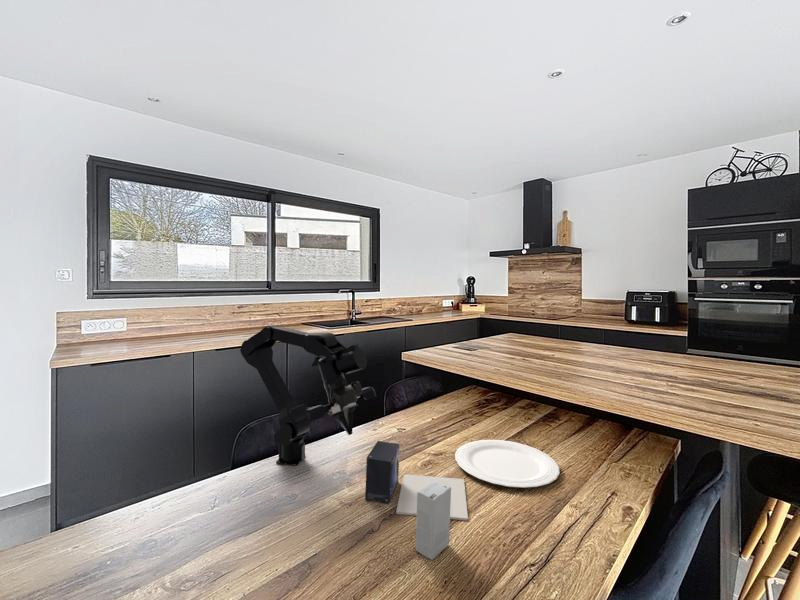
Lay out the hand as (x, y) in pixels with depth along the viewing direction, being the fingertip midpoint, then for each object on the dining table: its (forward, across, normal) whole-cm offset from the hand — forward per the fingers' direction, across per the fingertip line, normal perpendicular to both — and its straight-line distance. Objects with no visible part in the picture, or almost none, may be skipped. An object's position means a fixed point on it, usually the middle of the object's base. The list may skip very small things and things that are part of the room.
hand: (350, 434), depth 101 cm
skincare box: (+21, +1, -29) cm, 36 cm away
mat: (+19, +11, -14) cm, 26 cm away
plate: (+24, +39, -8) cm, 46 cm away
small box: (+15, +2, -7) cm, 16 cm away
